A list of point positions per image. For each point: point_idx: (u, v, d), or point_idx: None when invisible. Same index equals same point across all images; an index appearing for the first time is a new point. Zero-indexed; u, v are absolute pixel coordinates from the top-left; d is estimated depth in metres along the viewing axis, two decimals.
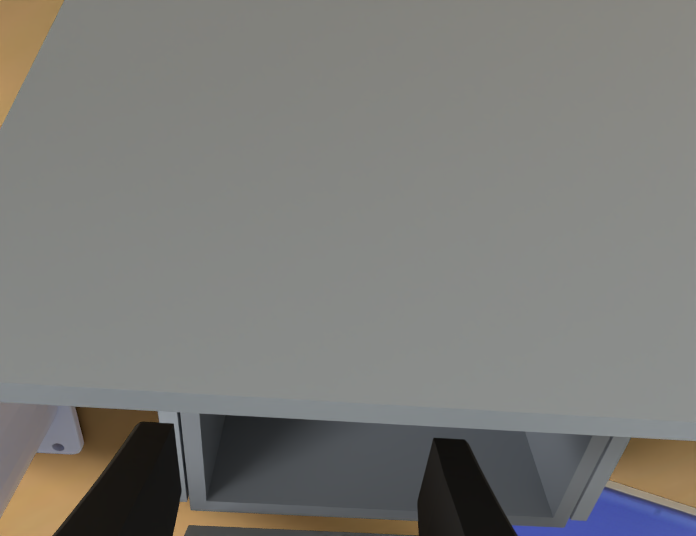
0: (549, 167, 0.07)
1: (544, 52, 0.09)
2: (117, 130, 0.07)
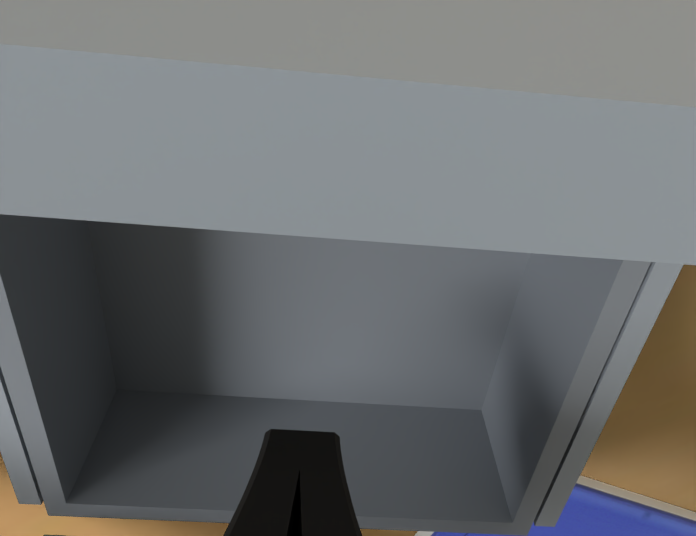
0: None
1: None
2: None
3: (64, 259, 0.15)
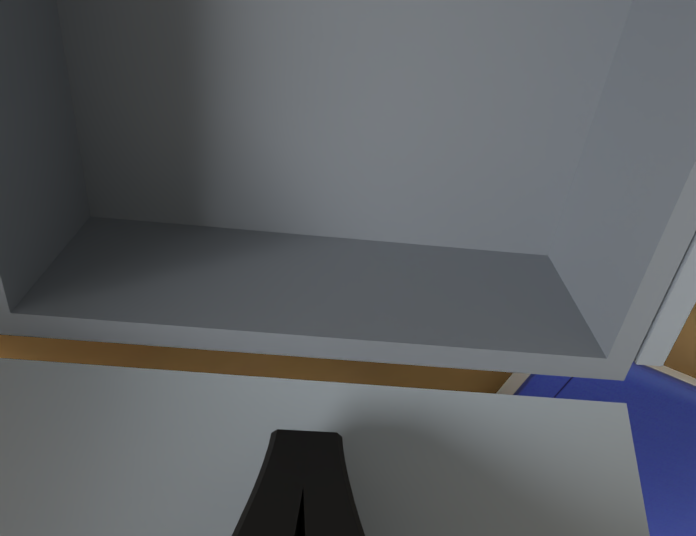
0: None
1: None
2: None
3: None
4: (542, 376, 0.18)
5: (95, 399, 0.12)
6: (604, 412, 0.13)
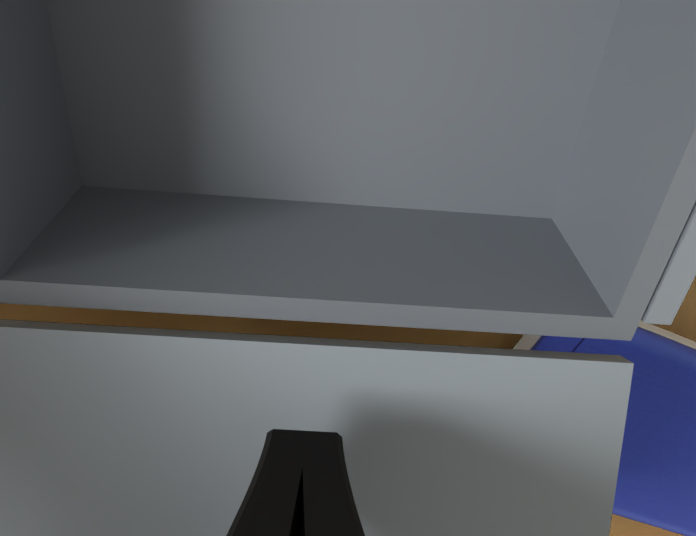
0: None
1: None
2: None
3: None
4: (547, 344, 0.18)
5: (96, 366, 0.12)
6: (608, 372, 0.12)
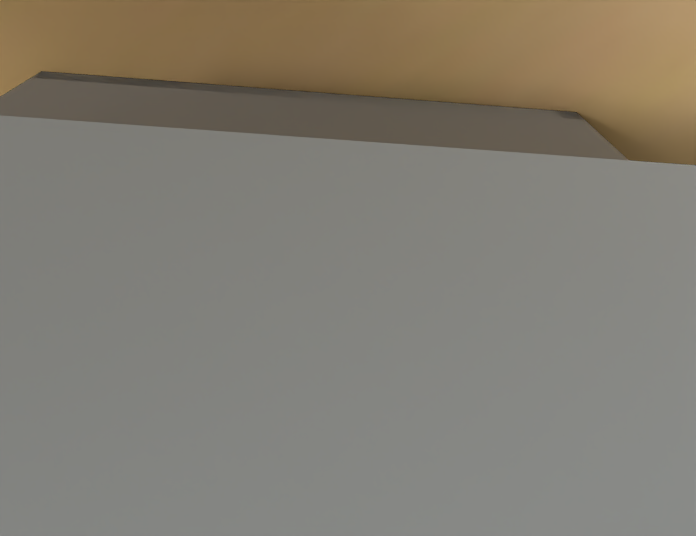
0: (281, 454, 0.07)
1: (317, 286, 0.08)
2: None
3: None
4: None
5: None
6: None
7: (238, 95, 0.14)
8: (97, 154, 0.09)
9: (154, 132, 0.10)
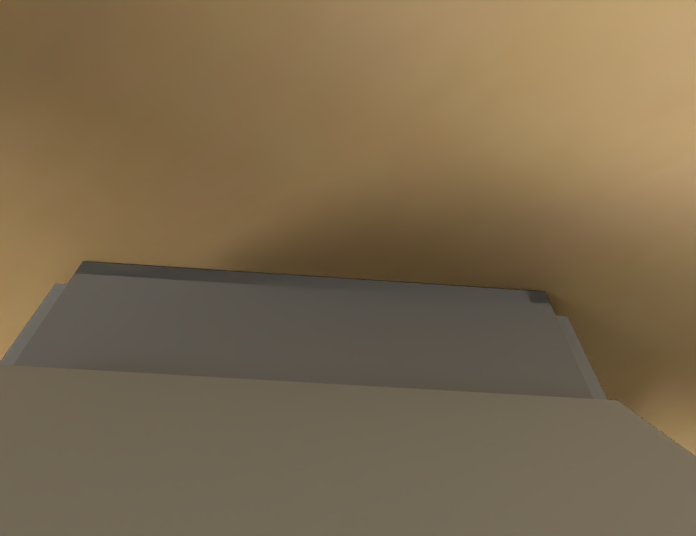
0: (288, 522, 0.07)
1: (316, 443, 0.10)
2: None
3: None
4: None
5: None
6: None
7: (250, 287, 0.17)
8: (143, 384, 0.12)
9: (188, 377, 0.12)
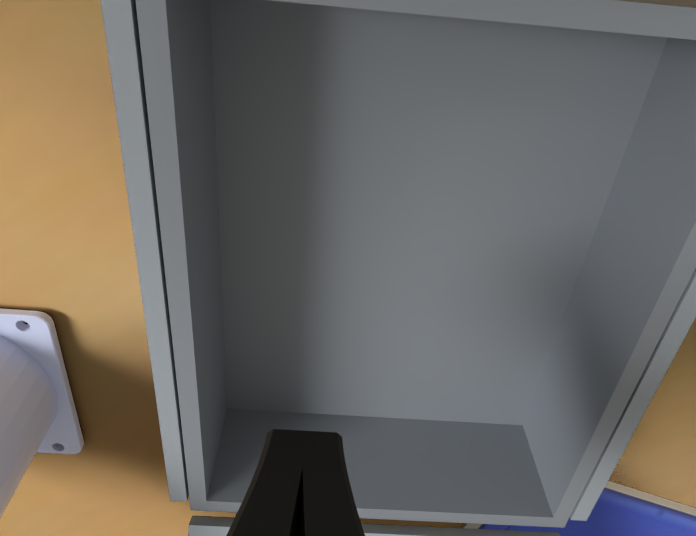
0: None
1: None
2: None
3: (213, 315, 0.19)
4: None
5: None
6: None
7: None
8: None
9: None
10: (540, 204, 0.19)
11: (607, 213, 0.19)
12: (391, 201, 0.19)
